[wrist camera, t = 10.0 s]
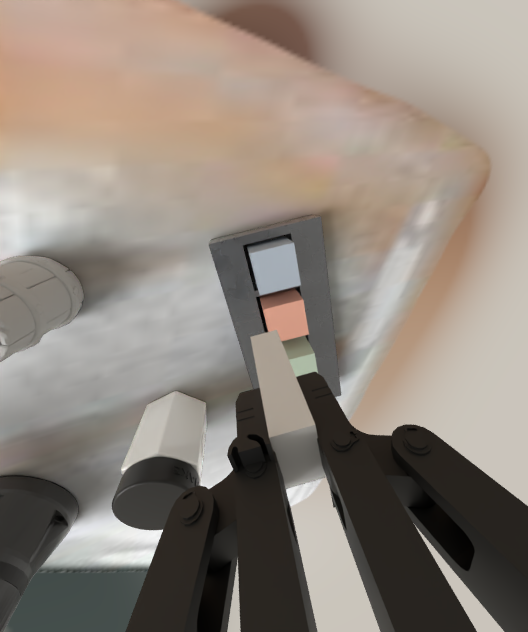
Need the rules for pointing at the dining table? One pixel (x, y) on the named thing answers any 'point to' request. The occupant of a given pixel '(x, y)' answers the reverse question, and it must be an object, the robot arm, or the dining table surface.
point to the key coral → (285, 313)
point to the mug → (34, 301)
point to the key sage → (300, 355)
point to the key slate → (274, 265)
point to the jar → (161, 461)
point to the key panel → (312, 290)
